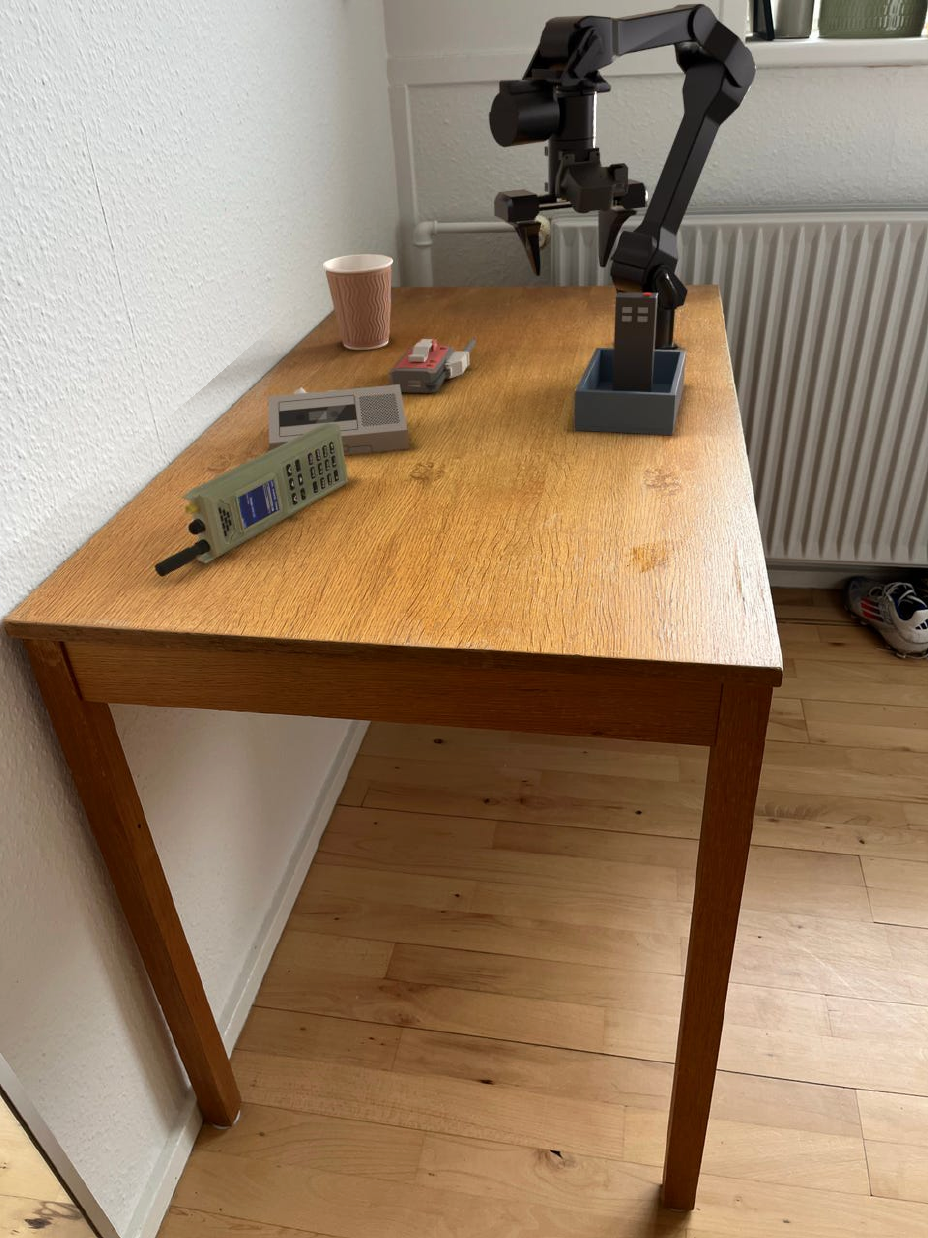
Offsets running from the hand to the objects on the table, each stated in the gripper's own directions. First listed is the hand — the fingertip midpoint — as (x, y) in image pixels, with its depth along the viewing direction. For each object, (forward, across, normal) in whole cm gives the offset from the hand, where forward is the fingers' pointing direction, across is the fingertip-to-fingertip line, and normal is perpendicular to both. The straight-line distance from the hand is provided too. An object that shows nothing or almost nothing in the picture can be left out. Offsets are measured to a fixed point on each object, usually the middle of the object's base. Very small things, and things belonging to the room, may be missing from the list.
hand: (570, 271), depth 124 cm
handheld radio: (+13, -47, -31) cm, 58 cm away
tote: (+13, +1, -17) cm, 21 cm away
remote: (+12, +1, -17) cm, 21 cm away
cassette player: (+12, -36, -17) cm, 41 cm away
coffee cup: (+13, -23, +25) cm, 36 cm away
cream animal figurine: (+13, -35, -4) cm, 37 cm away
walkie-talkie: (+13, -17, +7) cm, 23 cm away
